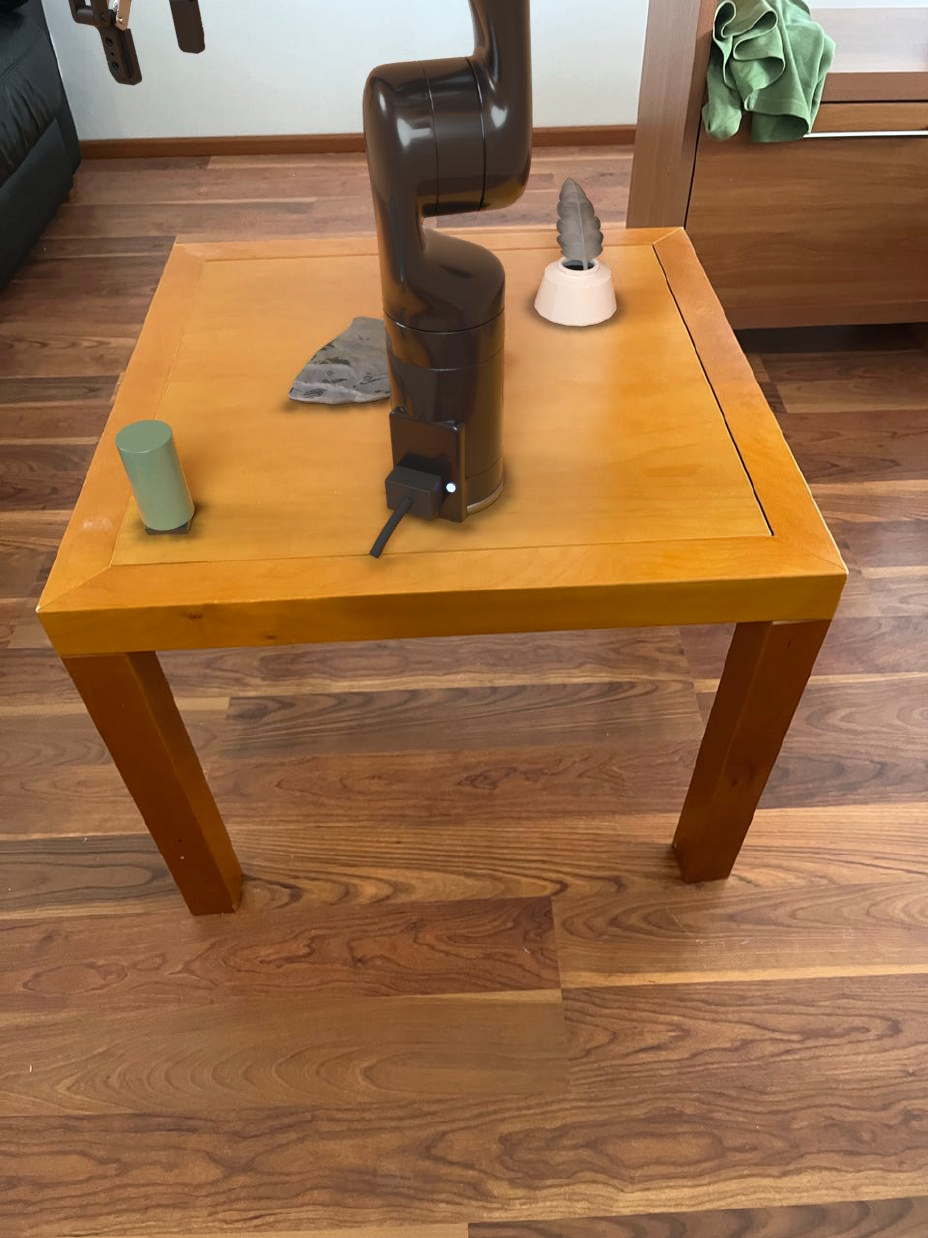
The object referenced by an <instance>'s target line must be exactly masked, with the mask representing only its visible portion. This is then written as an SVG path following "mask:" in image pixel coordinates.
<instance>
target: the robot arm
mask: <svg viewBox="0 0 928 1238" xmlns="http://www.w3.org/2000/svg"><path fill="white" fill-rule="evenodd" d="M110 1H111V0H89V3H90V5H89V4H87V2H86V0H67V2H68V5H69V9H70V13H71V17H72V20H73V21H74V22H75V23H76V24H78V25H79V24H80V25H85V26H91V27H94V28H95V29H96V30H97V31H98V34H99V36H100V40H101V44H102V48H103V51H104V55H105V59H106V60H105V61H106V63H107V68H108V71H109V73H110V74H111V76H112V78H113V79H114V82H116V83H117V84H120V85H126V86H127V85H128V86H136V85H138V84H140V83H142V81H143V75H142V71H141V66H140V63H139V59H138V54H137V50H136V46H135V41H134V37H133V33H132V28H129V27H128V25H129V19H130V13H131V12H130V11H131V5H132V2H133V0H113V5H112V8H109V7H110ZM168 3H169V8H170V12H171V17H172V22H173V26H174V32H175V37H176V41H177V46H178V49H179V50H180V51H181V52H182V53H187V54H193V55H195V54H196V55H199V54H200V53H202V52H204V51H205V50H206V42H205V30H204V26H203V25H204V24H203V21H202V14H201V9H200V4H199V0H168ZM467 4H468V8H469V13H470V18H471V24H472V25H471V26H472V34H473V35H472V36H473V51H472V55H468V56H467V55H466V56H455V57H454V56H453V57H443V58H432V59H420V60H409V61H398V62H397V61H396V62H389V63H383V64H380V65H377V66H375V67H373V68H372V69H371V71H370V72H369V73H368V75H367V76H366V80H365V83H364V87H363V93H362V102H361V110H362V111H361V112H362V113H361V114H362V115H361V116H362V117H361V118H362V132H363V140H364V141H363V142H364V149H365V156H366V163H367V171H368V176H369V177H368V178H369V184H370V185H369V186H370V190H371V197H372V204H373V212H374V220H375V229H376V230H375V231H376V240H377V251H378V253H377V254H378V262H379V263H378V264H379V275H380V287H381V288H380V289H381V303H382V313H383V320H384V325H385V337H386V351H387V363H388V376H389V388H390V397H389V399H390V412H389V413H388V422H389V423H388V425H389V432H390V433H389V434H390V445H391V456H392V470H391V471H390V472H389V474H388V475H387V476H386V478H384V488H385V499H386V508H387V509H388V510H392V511H393V512H392V514H391V515H390V517H389V518H388V520H387V521H386V523H385V524H384V526H383V527H382V529H381V531H380V532H379V534H378V535H377V537H376V539H375V541H374V543H373V545H372V547H371V549H370V551H369V553H368V555H370V556H371V557H372V558H375V559H377V560H378V559H380V556H381V554H382V552H383V550H384V549H385V547H386V545H387V543H388V541H389V539H390V538H391V536H392V535H393V534H394V532H395V530H396V528H397V527H398V526H399V524H400V522H401V521H402V520H403V518H404V517H405V516H406V514H407V515H410V516H413V517H417V518H421V519H423V520H428V521H433V520H434V519H435V517H437V518H441V519H445V520H448V521H452V522H455V523H463V522H464V520H465V519H466V517H468V516H469V515H472V514H476V513H477V512H481V511H482V510H485V509H486V508H488V507H490V506H491V505H492V504H493V503H495V501H496V500H498V499H499V497H500V495H501V493H502V491H503V488H504V469H503V454H504V453H503V452H504V445H503V444H504V394H505V393H504V391H505V389H504V388H505V342H506V341H505V337H506V302H507V301H506V300H507V298H506V297H507V279H506V271H505V267H504V265H503V263H502V262H501V260H500V258H499V257H498V256H497V255H496V254H494V252H492V251H490V249H488V248H487V247H485V246H483V245H481V244H477V243H475V242H472V241H470V240H466V239H462V238H458V237H456V236H455V237H454V236H451V235H447V234H444V233H441V232H440V231H437V230H435V229H433V228H431V227H430V226H427V225H426V224H425V223H424V221H425V219H428V218H437V217H444V216H455V215H463V214H471V213H483V212H488V211H489V212H490V211H496V210H502V209H506V208H510V207H512V206H515V205H516V204H517V203H518V202H519V201H520V200H521V199H522V197H523V196H524V194H525V191H526V189H527V186H528V182H529V179H530V174H531V167H532V156H533V139H534V138H533V137H534V133H533V132H534V130H533V129H534V128H533V127H534V126H533V124H534V123H533V120H534V119H533V118H534V116H533V74H532V73H533V70H532V68H533V67H532V33H531V27H532V26H531V0H467Z"/></svg>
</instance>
